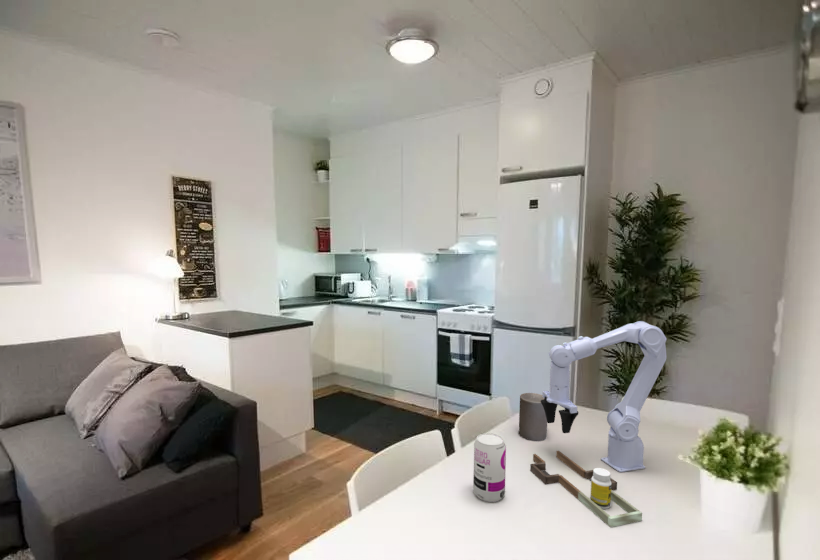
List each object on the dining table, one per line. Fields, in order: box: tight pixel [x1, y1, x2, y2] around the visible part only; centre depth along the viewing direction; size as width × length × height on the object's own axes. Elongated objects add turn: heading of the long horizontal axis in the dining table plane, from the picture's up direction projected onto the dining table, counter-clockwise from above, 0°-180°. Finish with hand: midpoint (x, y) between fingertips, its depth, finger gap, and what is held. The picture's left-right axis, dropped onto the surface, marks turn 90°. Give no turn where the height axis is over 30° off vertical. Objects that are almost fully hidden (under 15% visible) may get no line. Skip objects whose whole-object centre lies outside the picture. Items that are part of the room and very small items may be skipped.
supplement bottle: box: [589, 467, 612, 510], centre depth 104 cm, size 5×5×8 cm
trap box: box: [529, 450, 643, 528], centre depth 111 cm, size 18×32×2 cm, turn 15°
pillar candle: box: [518, 392, 548, 442], centre depth 143 cm, size 10×10×15 cm
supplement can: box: [472, 432, 507, 503], centre depth 107 cm, size 8×8×15 cm
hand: (558, 427), depth 127 cm, fingers open, 7 cm apart
